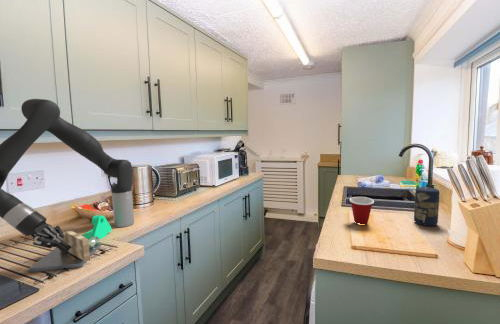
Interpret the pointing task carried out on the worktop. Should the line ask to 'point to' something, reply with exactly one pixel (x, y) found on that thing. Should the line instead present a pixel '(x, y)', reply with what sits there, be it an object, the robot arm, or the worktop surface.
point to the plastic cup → (361, 209)
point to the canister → (426, 206)
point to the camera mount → (98, 228)
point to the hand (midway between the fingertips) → (68, 250)
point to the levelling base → (63, 258)
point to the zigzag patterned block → (77, 245)
